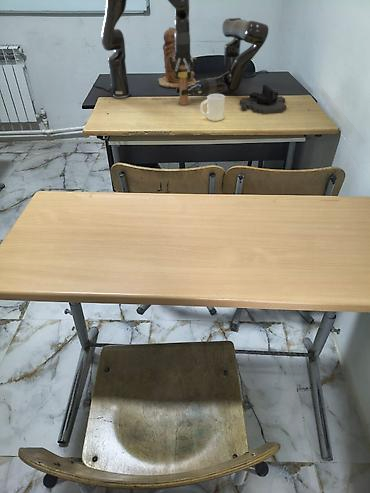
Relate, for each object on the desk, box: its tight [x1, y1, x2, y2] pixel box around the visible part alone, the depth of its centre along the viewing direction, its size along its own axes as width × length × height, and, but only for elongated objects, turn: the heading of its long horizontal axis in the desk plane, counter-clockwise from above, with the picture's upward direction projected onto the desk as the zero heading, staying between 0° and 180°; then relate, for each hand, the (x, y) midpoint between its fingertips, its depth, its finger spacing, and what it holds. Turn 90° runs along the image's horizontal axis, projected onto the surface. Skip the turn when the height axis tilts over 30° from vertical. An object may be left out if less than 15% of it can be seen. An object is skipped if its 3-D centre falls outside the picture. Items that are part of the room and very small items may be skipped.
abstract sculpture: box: [239, 84, 287, 115], centre depth 184 cm, size 25×9×20 cm
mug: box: [199, 93, 226, 122], centre depth 172 cm, size 12×8×10 cm
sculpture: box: [157, 27, 198, 89], centre depth 214 cm, size 27×24×30 cm
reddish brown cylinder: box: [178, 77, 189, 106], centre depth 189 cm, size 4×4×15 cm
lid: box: [178, 72, 187, 78], centre depth 184 cm, size 6×6×2 cm
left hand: (183, 79), depth 186 cm, fingers closed on lid, 5 cm apart
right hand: (179, 91), depth 189 cm, fingers closed on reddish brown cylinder, 4 cm apart
